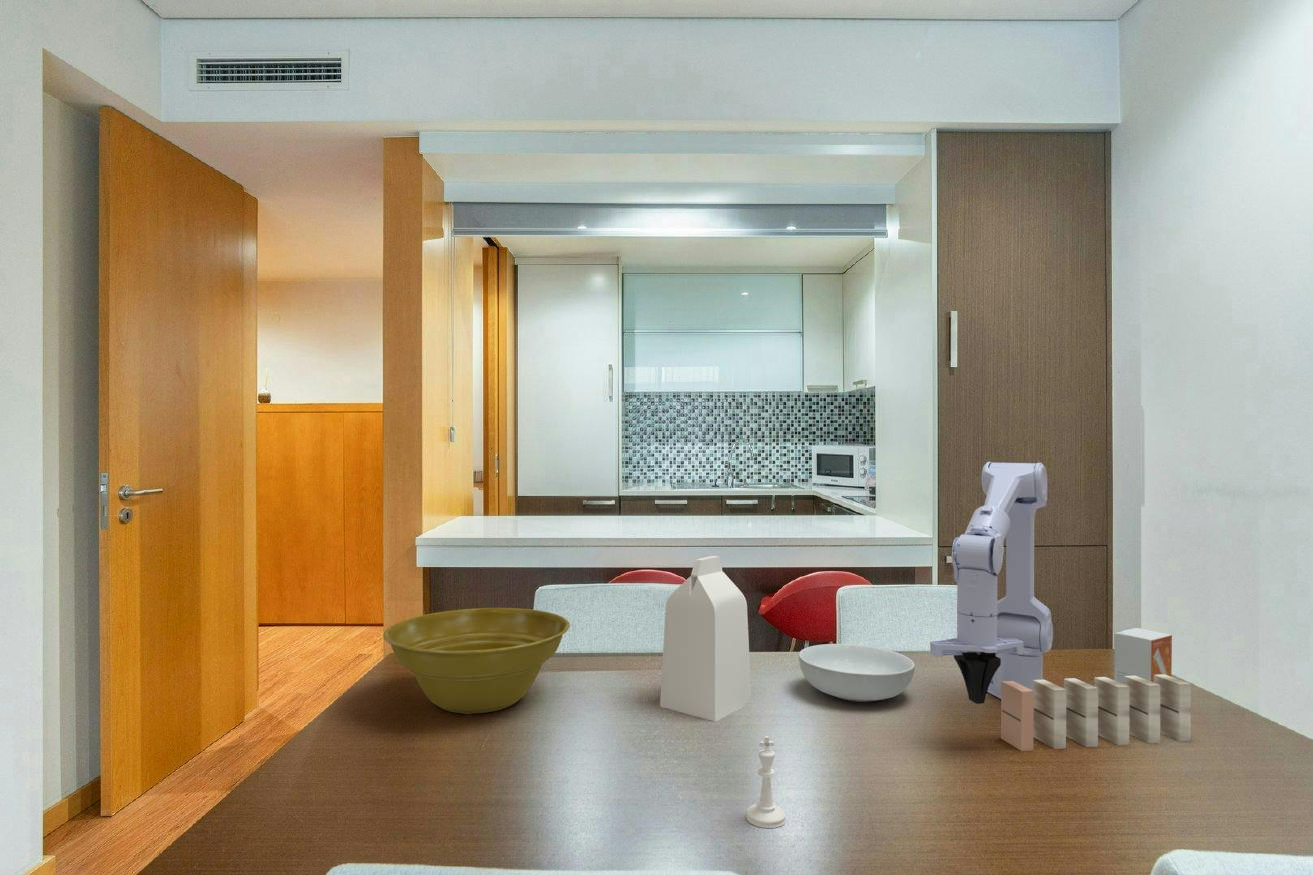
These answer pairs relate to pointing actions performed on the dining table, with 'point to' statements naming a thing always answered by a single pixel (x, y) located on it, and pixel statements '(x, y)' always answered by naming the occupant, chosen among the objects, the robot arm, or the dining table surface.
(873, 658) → the serving bowl
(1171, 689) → the domino
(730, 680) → the milk
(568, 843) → the dining table surface
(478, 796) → the dining table surface
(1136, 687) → the domino
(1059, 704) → the domino
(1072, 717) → the domino
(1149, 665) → the small box
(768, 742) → the chess piece
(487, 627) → the planter bowl
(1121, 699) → the domino
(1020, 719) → the head domino
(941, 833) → the dining table surface
